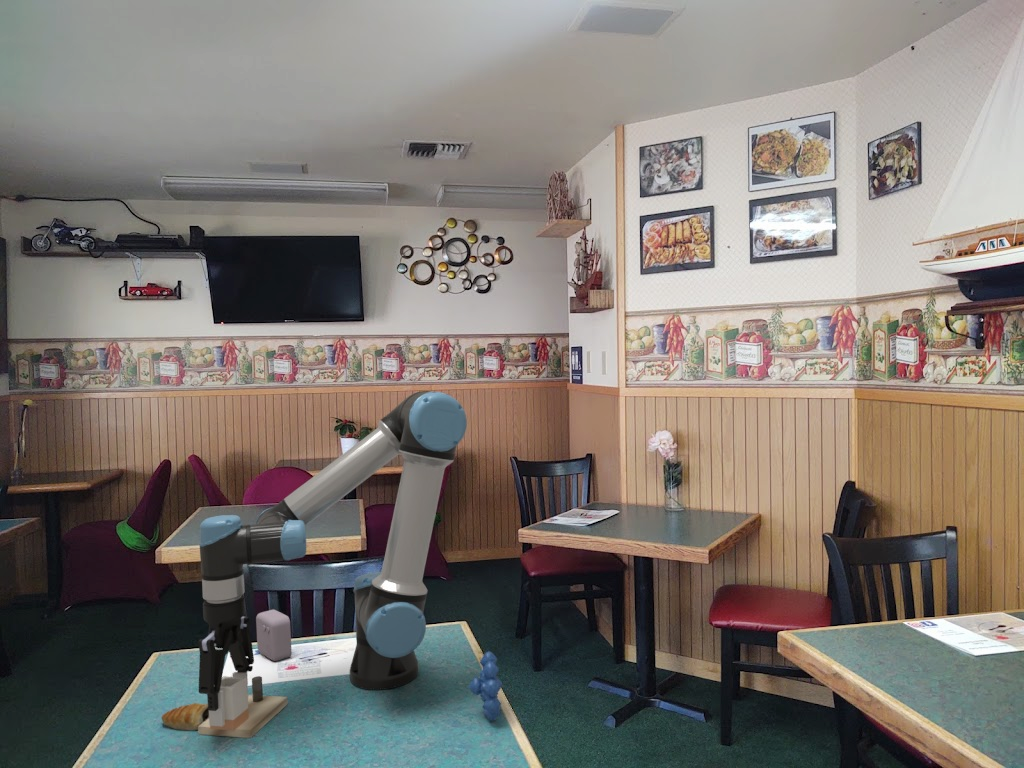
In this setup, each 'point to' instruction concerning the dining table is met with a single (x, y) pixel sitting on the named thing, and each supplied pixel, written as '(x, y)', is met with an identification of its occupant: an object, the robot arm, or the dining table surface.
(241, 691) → the sleeve
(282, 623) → the electronic device
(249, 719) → the pin board
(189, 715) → the pastry
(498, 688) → the grapes
